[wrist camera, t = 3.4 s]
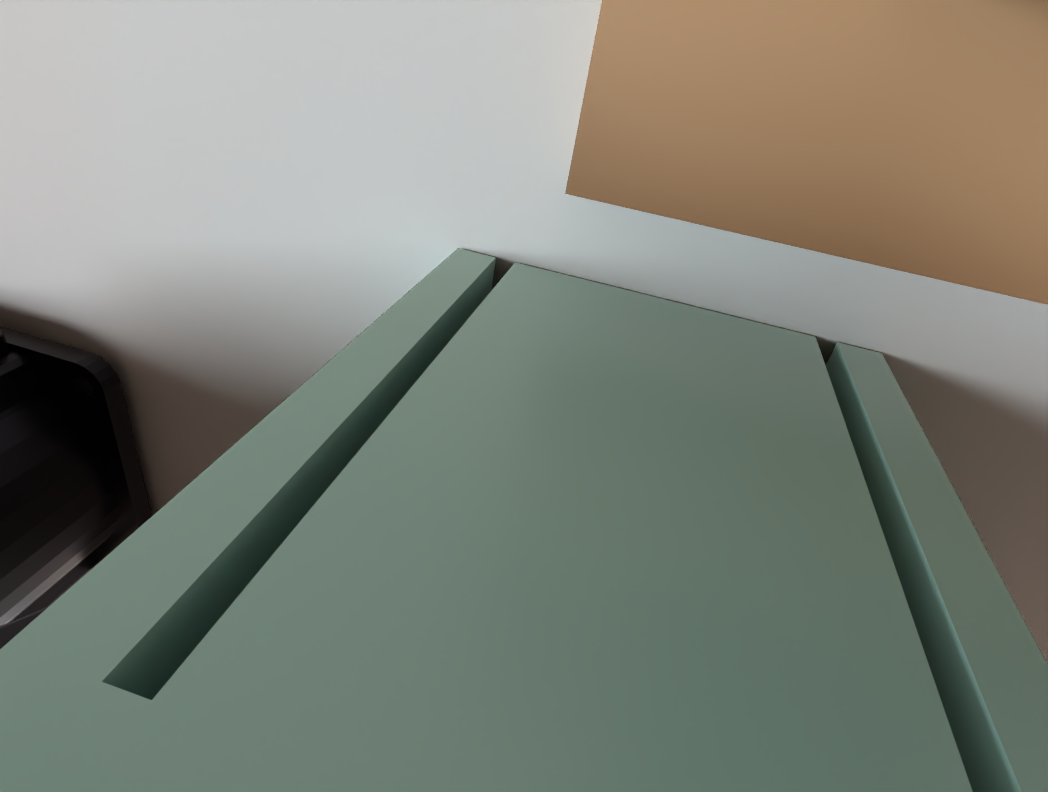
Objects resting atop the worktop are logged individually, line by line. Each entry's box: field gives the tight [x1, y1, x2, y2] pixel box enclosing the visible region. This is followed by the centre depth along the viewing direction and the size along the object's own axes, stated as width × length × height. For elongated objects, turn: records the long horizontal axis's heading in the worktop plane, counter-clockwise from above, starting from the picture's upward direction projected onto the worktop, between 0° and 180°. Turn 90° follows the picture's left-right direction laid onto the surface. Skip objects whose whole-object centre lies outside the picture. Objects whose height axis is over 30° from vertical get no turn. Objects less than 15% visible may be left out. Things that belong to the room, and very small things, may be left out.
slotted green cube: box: [0, 248, 1048, 792], centre depth 7 cm, size 6×6×8 cm
